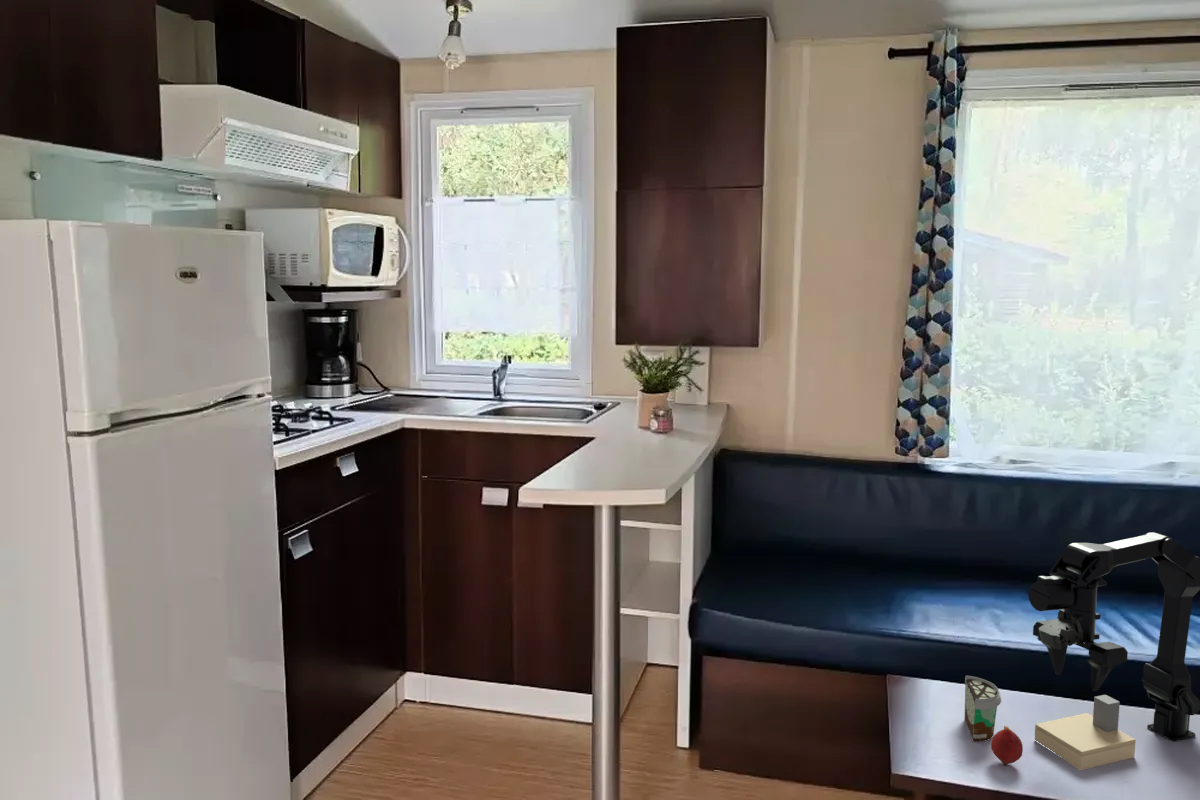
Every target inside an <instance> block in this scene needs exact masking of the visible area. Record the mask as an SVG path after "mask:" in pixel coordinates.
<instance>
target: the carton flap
mask: <svg viewBox="0 0 1200 800" xmlns="http://www.w3.org/2000/svg"><path fill="white" fill-rule="evenodd" d="M1093 699H1094V700H1093V713H1092V714H1090V713H1088V712H1086V713H1080V714H1076V715H1072V716H1066V717H1062V718H1058V719H1052V720H1048V721H1044V722H1039V723H1035V725H1034V729H1035V728H1037V729H1038V730H1040V731H1042V732H1043V733H1045V734H1046V735H1048V736H1050V737H1051V738H1053V739H1055V740H1056V741H1058V742H1060V743H1061V744H1063V745H1065V746H1066V747H1068V748H1070V749H1071V750H1073V751H1075V752H1076V753H1078V754H1080V755H1081V756H1082V755H1087V754H1091V753H1095V752H1099V751H1104V750H1108V749H1112V748H1117V747H1121V746H1125V745H1130V744H1134V743H1135V744H1136V738H1134V737H1133V736H1130V735H1128V734H1126V733H1125V732H1123V731H1121V730H1119V717H1120V703H1121V702H1120V701H1119V700H1117V699H1115V698H1114V697H1111V696H1109V695H1107V694H1102V695H1097V696H1094V697H1093Z"/></svg>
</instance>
